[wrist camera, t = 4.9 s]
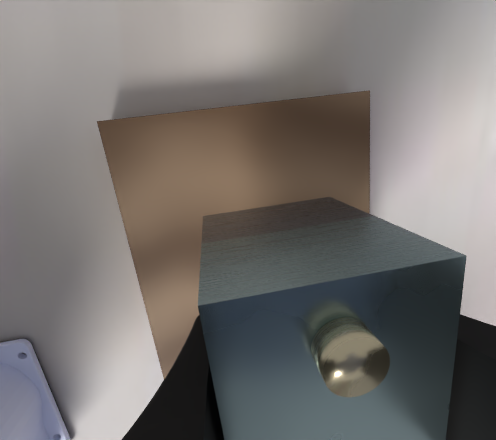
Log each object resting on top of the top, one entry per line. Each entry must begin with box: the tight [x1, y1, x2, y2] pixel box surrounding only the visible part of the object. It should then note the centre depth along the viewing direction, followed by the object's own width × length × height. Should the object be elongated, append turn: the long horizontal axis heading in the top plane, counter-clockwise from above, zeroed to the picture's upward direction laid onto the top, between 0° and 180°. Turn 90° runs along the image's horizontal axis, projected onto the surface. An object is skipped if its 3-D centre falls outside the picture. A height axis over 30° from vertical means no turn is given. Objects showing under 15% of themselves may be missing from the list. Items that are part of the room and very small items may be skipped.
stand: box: [97, 91, 370, 379], centre depth 17 cm, size 16×14×2 cm
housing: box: [198, 197, 466, 440], centre depth 9 cm, size 5×8×7 cm, turn 7°
